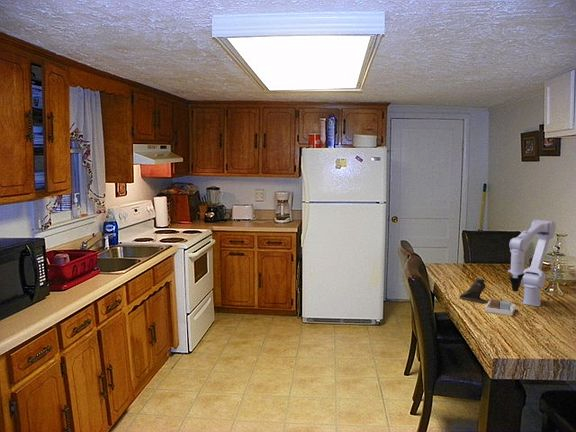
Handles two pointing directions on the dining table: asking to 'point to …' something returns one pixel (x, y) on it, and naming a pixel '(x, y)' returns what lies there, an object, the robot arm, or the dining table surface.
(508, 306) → the gray block
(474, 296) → the sculpture
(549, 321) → the dining table surface
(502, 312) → the dish
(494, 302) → the walnut block
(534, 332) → the dining table surface
